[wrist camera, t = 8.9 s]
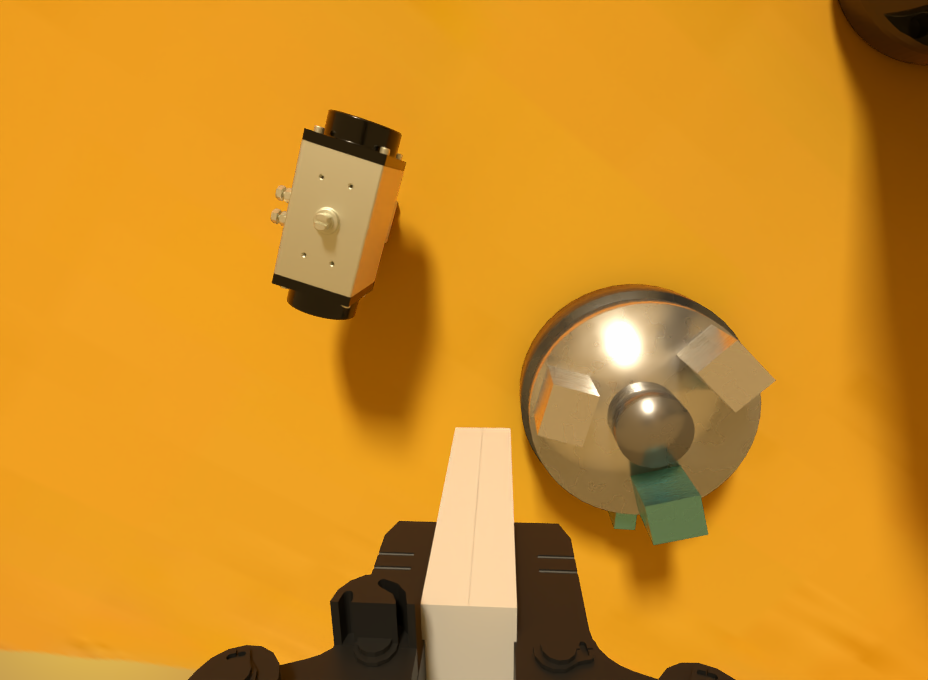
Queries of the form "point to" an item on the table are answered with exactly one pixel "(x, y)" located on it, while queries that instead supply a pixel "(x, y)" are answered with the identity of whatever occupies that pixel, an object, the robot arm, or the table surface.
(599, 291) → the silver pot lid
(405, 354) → the table surface
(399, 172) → the pneumatic valve
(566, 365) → the lathe chuck
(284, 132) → the table surface
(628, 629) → the table surface
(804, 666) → the table surface
